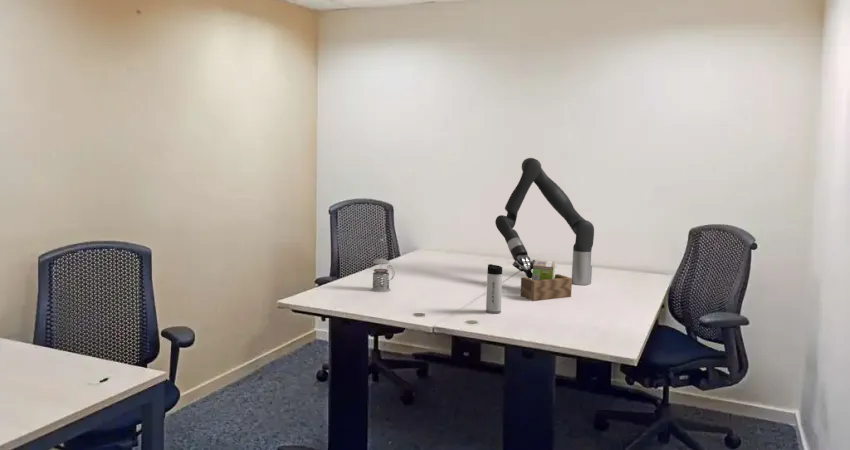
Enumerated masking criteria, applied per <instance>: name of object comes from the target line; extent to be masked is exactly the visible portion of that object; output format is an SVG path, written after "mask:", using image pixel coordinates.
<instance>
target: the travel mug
mask: <svg viewBox="0 0 850 450" xmlns="http://www.w3.org/2000/svg"><path fill="white" fill-rule="evenodd" d="M486 274H487V275H486V276H487V277H486V301H485V308H486V309H485V312H486V313H488V314H491V315H496V314H500V313H501V312H502V297H503V296H502V293H503V266H501V265H497V264H492V263H489V264H487V273H486Z"/></svg>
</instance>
